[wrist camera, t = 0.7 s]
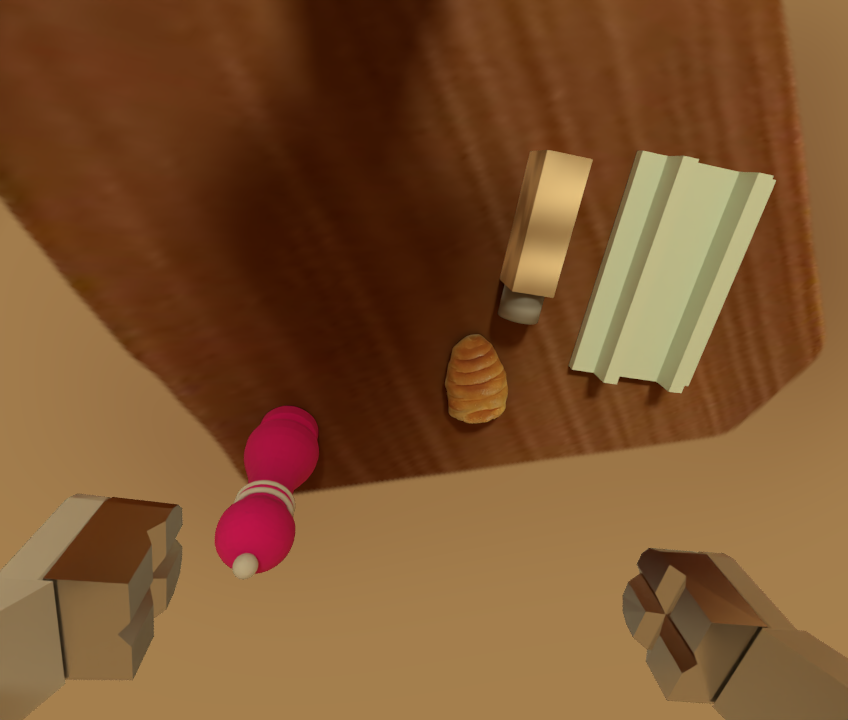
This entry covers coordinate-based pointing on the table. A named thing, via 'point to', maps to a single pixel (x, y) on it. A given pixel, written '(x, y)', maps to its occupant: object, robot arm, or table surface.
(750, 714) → the robot arm
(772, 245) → the table surface
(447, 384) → the pastry
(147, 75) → the table surface
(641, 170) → the grooved moulding strip
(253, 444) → the pepper mill
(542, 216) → the grey-capped wooden block
